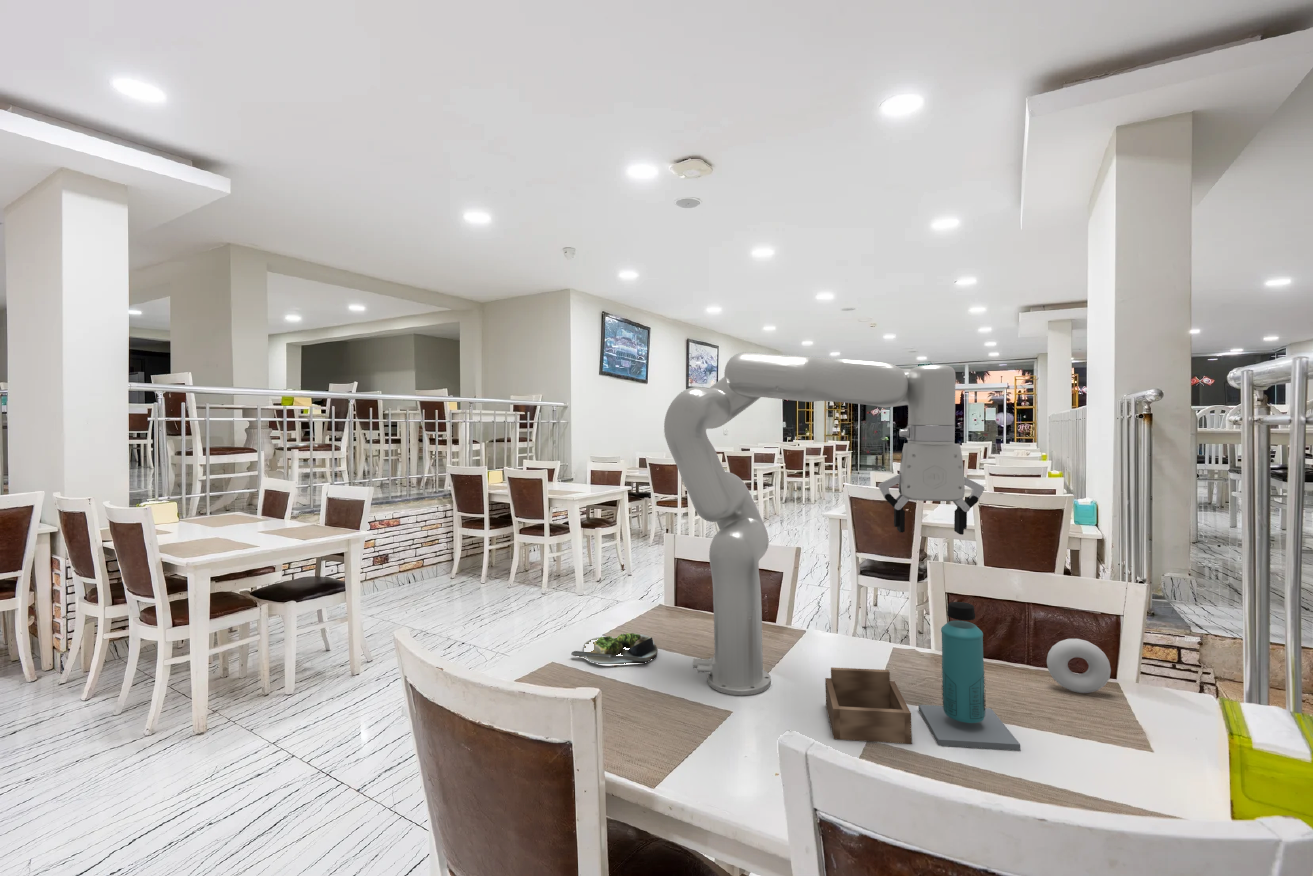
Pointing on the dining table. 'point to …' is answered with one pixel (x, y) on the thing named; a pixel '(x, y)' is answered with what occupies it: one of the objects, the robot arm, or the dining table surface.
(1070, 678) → the donut
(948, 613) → the beverage bottle
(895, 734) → the brown wooden open box
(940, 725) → the slate mat
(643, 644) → the salad plate
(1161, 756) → the dining table surface
